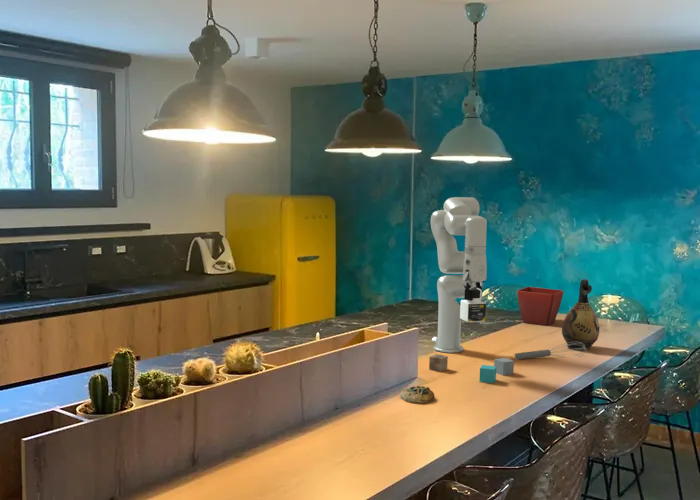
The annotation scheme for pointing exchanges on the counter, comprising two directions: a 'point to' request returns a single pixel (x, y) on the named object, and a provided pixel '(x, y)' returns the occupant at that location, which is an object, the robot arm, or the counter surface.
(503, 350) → the counter surface
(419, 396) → the bread roll
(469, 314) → the medicine bottle
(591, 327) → the ceramic jug
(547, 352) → the kitchen whisk
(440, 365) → the walnut block
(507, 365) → the slate grey block
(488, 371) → the deep teal block
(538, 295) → the plant pot
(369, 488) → the counter surface
